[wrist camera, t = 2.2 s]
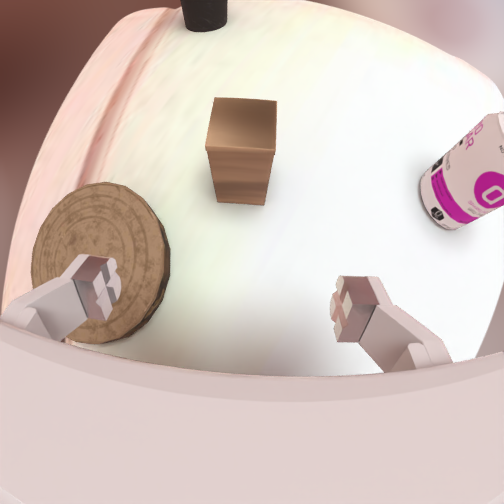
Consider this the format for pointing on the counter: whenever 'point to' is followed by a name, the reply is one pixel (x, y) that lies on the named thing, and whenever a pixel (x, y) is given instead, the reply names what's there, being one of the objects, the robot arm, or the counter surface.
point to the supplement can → (468, 176)
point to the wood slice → (107, 253)
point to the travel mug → (204, 14)
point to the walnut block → (241, 148)
